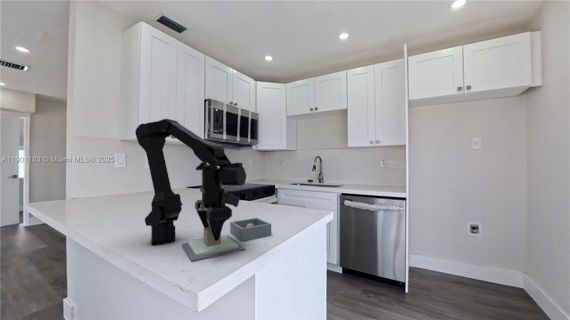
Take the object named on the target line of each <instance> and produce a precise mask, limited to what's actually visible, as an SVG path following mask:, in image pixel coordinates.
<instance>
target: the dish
mask: <svg viewBox="0 0 570 320" xmlns="http://www.w3.org/2000/svg"><path fill="white" fill-rule="evenodd" d="M249 223H252V224H253V225H254V226H253V227H247V228H246V226H247V225H248V224H249ZM229 224H230V225H229V227H230V228H229V229H230V230H229V231H230V232H229V233H230V234H231V235H232V236H234V237H235V238H237V239H238V240H239V241H241V242H246V241H251V240H256V239H260V238H265V237H270V236H272V223H270V222H267V221H265V220H263V219H261V218H259V217H252V218H247V219H241V220H234V221H230V223H229Z"/></svg>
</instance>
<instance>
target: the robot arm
mask: <svg viewBox="0 0 570 320" xmlns="http://www.w3.org/2000/svg"><path fill="white" fill-rule="evenodd" d="M134 132H135V137H136V139H137V144H139V146H140V147H141V149H143V150H144V152H145V154H146V160H147V163H148V167H149V173H150V176H151V177H150V178H151V182H152V186H153V191H154V195H153V199H152V201H151V203H150V204H151V205H150V206H151V211H150V212H149V213H148V214H147V216H146V217H145V218H144V223H145V226H147V227H150V229H151V232H150V234H151V235H150V244H151V246H152V247H154V246H161V245H164V244H165V245H166V244H170V243H174V242H176V241H175V240H176V226H175V224H174V222H175V221H178V219H179V216H180V214H181V212H182V206H183V203H182V201H181V195H180V193H175V192H174V191H173V189H172V186H171V180H170V177H169V172H168V168H167V163H166V159H165V155H164V147H165V145H166V142H167V141H166V139H168V138H169V137H171V136H172V137H173V138H175V139H177V140H178V141H179V142H181V143H183V144H184V145H185V146H187V147H189V149H191V150H192V151H193V153H194V156H195V157H196V158H197V159H199V161H201V162H200V164H199V165H198V166H196V167H195V171H201V187H200V189H199V191H200V192H201V199H197V200H196V201H195V202H194V209H195V212H196V213H197V215H198V218H199V220H200V221H201V224H202V226H203V229H204V228H206V227H210V230H211V232H212V235H213V238H214V240H215V241H218V240H219V237H220V234H221V235H222V229H223V228H224V227H223V226H224V224H225V223H226V222H227V220H230V219H231V218H233V209H232V208H231V207H230V206H233V207H234V208H238V206H239V203H240V200H241V197H239V196H236V195H233V192H232V191H229V190H225V188H224V187H222V186H231V187H232V186H235V187H242V186H244V185H245V183H246V180H247V173H246V169H245V168H244V167H243V162H234V163H233V162H231V160H230V159H229V157H228V156H227V154H226V152H225V148H224V147H223V145H220V144H218V143H215V142H213V141H209V140H207V139H204V138H202V137H200V136H199V135H197V134H196V133H194V132H193V131H191V130H190V129H188V128H187V127H185V126H184V125H182V124H181V123H179V122H178V121H177V120H173V119H169V118H164V119H161V120H158V121H157V120H156V121H152V122H151V121H150V122H147V123H140V124H139V125H138V126H137V127H136V129H135V131H134ZM228 205H230V206H228Z"/></svg>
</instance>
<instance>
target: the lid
mask: <svg viewBox="0 0 570 320" xmlns="http://www.w3.org/2000/svg"><path fill="white" fill-rule="evenodd" d="M226 235H227V234H222V233H221V234H220V237H219V240H218V241H215V240H214V238H213V235H212V232H211V230H210V227H206V228H204V227H203V238H200V239H199V238H198V239H194V240H193V239H192V240H189V241H186V243H187V244H188V246H189V247H190V249H191V250H192V252H193V253H194V255H195V256H196V257H199V256H204V255H208V254H213V253H217V252H222V251H226V250H230V249H235V248H238V244H236V243H235V242H234V241H233V240H231V239H230V238H229V237H227V236H226Z"/></svg>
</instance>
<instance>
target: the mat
mask: <svg viewBox="0 0 570 320" xmlns="http://www.w3.org/2000/svg"><path fill="white" fill-rule="evenodd" d="M225 235H226V236H227V237H229V238H230V239H231V240H233V241H234V242H235V243H236V244H238V248H235V249H230V250H226V251H222V252H217V253H213V254H208V255H204V256H199V257H196V256H195V255H194V253H193V252H192V250H191V249H190V247H189V246H188V244H187V242H182V243H180V244H181V245H180V246H181V247H182V248H183V250H184V252H185V254H186V256H187V257H188V259H189V260H190V262H191V263H194V262H197V261H198V262H199V261H202V260H207V259H211V258H214V257H218V256H224V255H228V254H231V253H232V254H233V253H236V252H240V251H244V250H246V247H244V246H243V245H242V244H240V243H239V242H238V241H236V240H235V239H234V238H232V237H231V236H230V235H229V234H225Z"/></svg>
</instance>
